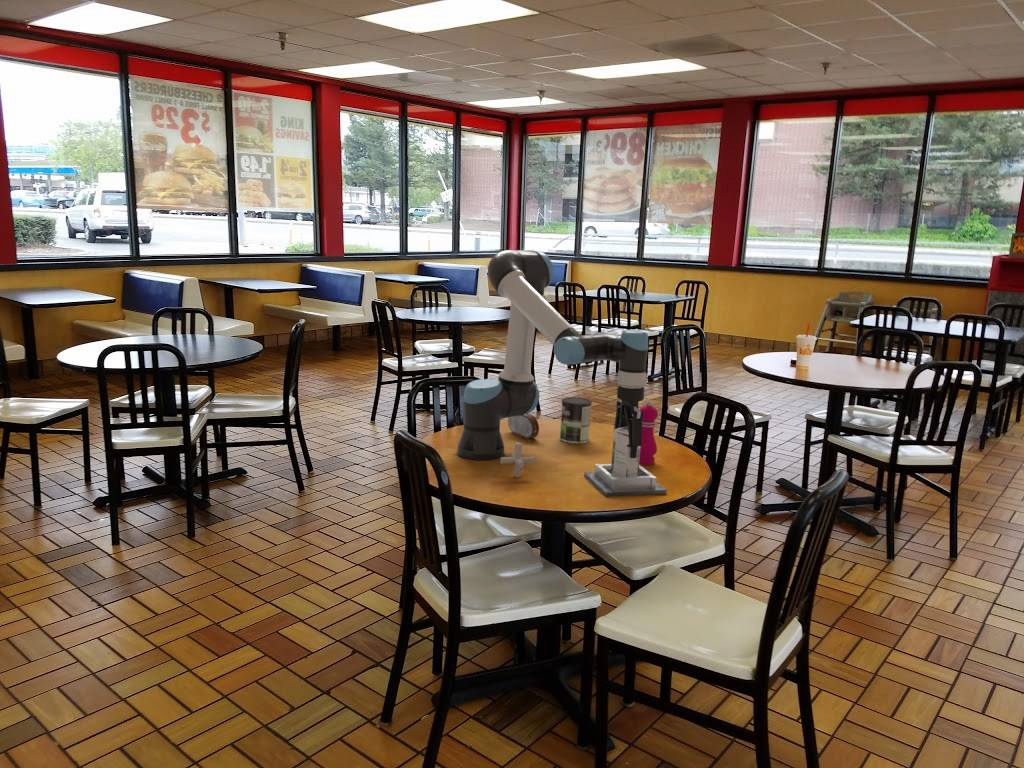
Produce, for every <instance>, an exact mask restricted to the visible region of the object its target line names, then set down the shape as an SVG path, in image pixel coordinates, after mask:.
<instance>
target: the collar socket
mask: <svg viewBox="0 0 1024 768" xmlns="http://www.w3.org/2000/svg"><path fill="white" fill-rule="evenodd" d="M583 477H584V478H585V479H586V480H588V481H589V483H591V484H592V485H593V486H594V487H595V488H596V489H597V490H598V491H599V492H600V493H601V494H602V495H603V496H605V497H606V498H607V497H627V496H628V497H629V496H630V497H632V496H650V495H651V496H652V495H667V493H668V492H667V490H668V489H667V488H666V487H664V486H663V485H661V484H660V483H658V482H657V477H656V476H655V475H654V474H652V473H651V472H650V471H648V470H647V469H645V468H644V467H643V465H641V464H639V470H638V476H635V477H614V476H612V475H611V463H606V464H603V463H602V464H600V463H595V464H594V471H584V475H583Z"/></svg>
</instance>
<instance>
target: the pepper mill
mask: <svg viewBox="0 0 1024 768" xmlns="http://www.w3.org/2000/svg"><path fill="white" fill-rule="evenodd" d="M639 411H643V418H642V446H641V448H640V459H639V465H641V464H642V465H641V466H651V465H650V464H652V465H654V464H655V462H656V461H655V459H656V458H655V455H656V454H657V452H658V447H657V443H656V439H655V435H654V429H655V426H656V420H657V418H658V416H659V415H658V414H659V413H658V409H657V408H656V407H654V406H653V403H652V401H651V400H647V401H646V402H645V405H642V406H641V407H639Z"/></svg>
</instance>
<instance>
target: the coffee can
mask: <svg viewBox="0 0 1024 768" xmlns="http://www.w3.org/2000/svg"><path fill="white" fill-rule="evenodd" d="M592 404H593V402H592V400H590V399H588V398H584V397H577V396H576V397H574V396H572V397H571V396H570V397H564V398H562V399H561V414H560V415H561V417H560V431H559V433H560V434H559V436H560V437H559V440H562V442H565V443H567V442H568V443H567V444H574V443H576V444H577V443H581V444H586V443H588V442H589V441H590V428H591V427H590V426H591V412H592V411H591V410H592Z"/></svg>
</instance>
